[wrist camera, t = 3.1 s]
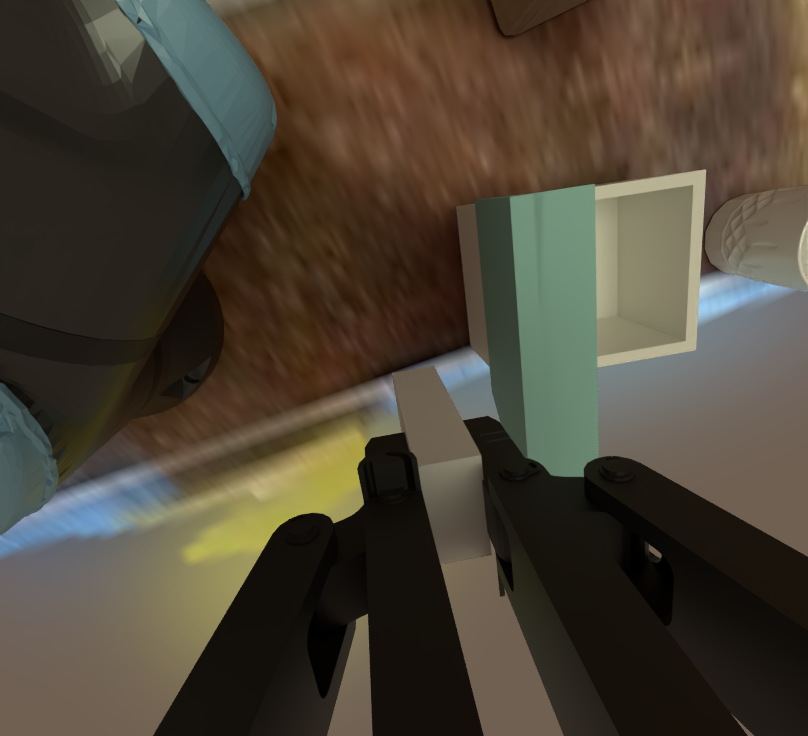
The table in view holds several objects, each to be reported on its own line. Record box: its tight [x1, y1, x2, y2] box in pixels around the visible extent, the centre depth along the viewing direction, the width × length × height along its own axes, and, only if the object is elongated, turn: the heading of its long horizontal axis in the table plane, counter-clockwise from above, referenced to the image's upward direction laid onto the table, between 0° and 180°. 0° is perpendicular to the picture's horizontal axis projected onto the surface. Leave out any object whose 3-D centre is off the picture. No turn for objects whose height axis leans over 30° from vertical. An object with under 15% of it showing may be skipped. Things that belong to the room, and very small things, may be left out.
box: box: [456, 170, 706, 367], centre depth 36 cm, size 14×12×10 cm
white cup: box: [705, 185, 808, 292], centre depth 37 cm, size 8×8×10 cm
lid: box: [474, 184, 599, 477], centre depth 23 cm, size 15×13×2 cm
